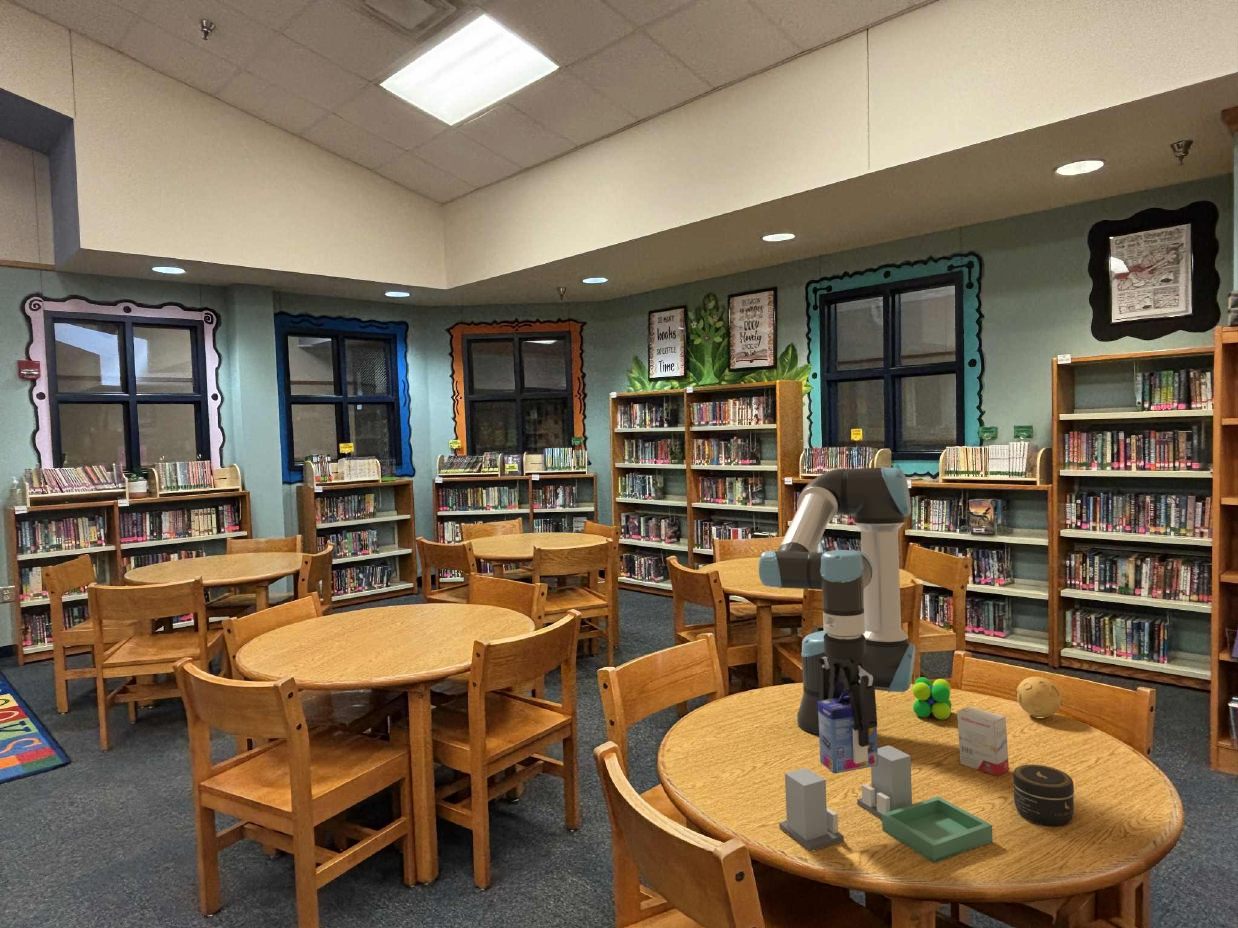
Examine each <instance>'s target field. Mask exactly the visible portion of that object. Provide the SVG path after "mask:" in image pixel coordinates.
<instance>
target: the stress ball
mask: <svg viewBox="0 0 1238 928" xmlns="http://www.w3.org/2000/svg"><path fill="white" fill-rule="evenodd" d="M1015 698H1016V700H1017V702H1018V704H1019V706H1020V707H1021V708H1022V710H1023V711H1024V712H1026V713H1027V714H1029V715H1031V716H1032V717H1033V716H1035V717H1045V718H1048V717H1051V716H1054V715H1055V714H1056V713H1057V712H1058V711H1059V710H1060V708H1061V705H1063V699H1062V695H1061V692H1060V690H1059V688H1058V686H1057V685H1056V684H1055V683H1054V682H1052V681H1051V680H1050V679H1047V678H1045V677H1042V676H1030V677H1027V678H1025V679H1023V680H1022V681H1020V683H1019V684H1018V686H1017V688H1016V690H1015ZM1035 717H1034V718H1035Z"/></svg>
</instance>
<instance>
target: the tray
mask: <svg viewBox="0 0 1238 928" xmlns="http://www.w3.org/2000/svg"><path fill="white" fill-rule="evenodd" d="M881 823H882V824H881V826H882V827H881V829H882V831H883V832H885V833H886V834H888V835H889V836H891V837H893V838H894V839H895V840H897V841H899V842H900V843H902V844H904V845H905V846H907V847H908V848H910V849H911V850H912V851H914V852H916V853H917V854H919V855H920V856H923V857H924V858H925V859H927V860H929V861H930V862H931V863H933V864H936V863H938V862H940V861H944V860H947V859H949V858H951V857H956V856H957V855H960V854H961V855H962V854H964V853H966V852H969V851H971V850H974V849H977V848H980V847H982V846H986V845H988V844H990V843H993V840H994V839H993V837H994V836H993V824H991V823H989V822H987V821H985V820H983V819H981V818H980V817H978V816H976V815H974V814H973V813H970V812H968V811H967V810H965V809H964V808H963V809H962V808H961V807H959V806H957V805H955V804H954V803H951V802H949V801H948V800H946V799H944V798H942V797H941V796H935V797H932V798H928V799H925V800H922V801H919V802H916V803H912V805H909V806H906V807H903V808H899V809H896V810H893V811H890V812H887V813H884V814H882V819H881Z"/></svg>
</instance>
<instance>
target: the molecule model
mask: <svg viewBox="0 0 1238 928" xmlns="http://www.w3.org/2000/svg"><path fill="white" fill-rule="evenodd" d="M951 691H952V687H951V684H950V683H949V682H948V680H945V679H943V678H938V679H936V680H934V682H933V683H932V681H931V680H930V679H929V678H927V677H922V676H921V677H918V678H917V679H916V680H915V681H914V683H913V686H912V694H913V696H914V697H915V698H914V703H913V707H912V708H913V712H914V713H915V715H917V716H918V717H919V718H927V717H929V716H930V715H931V714H932V715H933V716H934V717H935V719H938V720H940V721H941V720H943V721H944V720H947V719H948V718H950V715H951V710H952V702H951V700H950V698H951Z"/></svg>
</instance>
